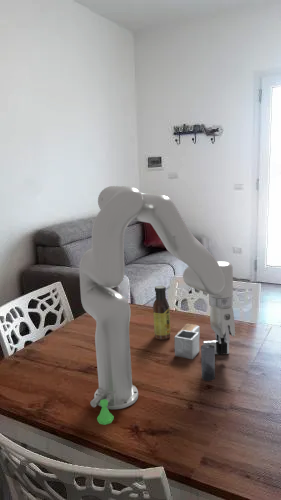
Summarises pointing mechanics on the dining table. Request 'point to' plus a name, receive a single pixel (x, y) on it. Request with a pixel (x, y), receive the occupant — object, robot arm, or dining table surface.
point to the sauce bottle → (161, 314)
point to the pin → (208, 362)
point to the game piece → (104, 413)
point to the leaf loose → (215, 345)
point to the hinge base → (187, 341)
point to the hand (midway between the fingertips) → (221, 353)
